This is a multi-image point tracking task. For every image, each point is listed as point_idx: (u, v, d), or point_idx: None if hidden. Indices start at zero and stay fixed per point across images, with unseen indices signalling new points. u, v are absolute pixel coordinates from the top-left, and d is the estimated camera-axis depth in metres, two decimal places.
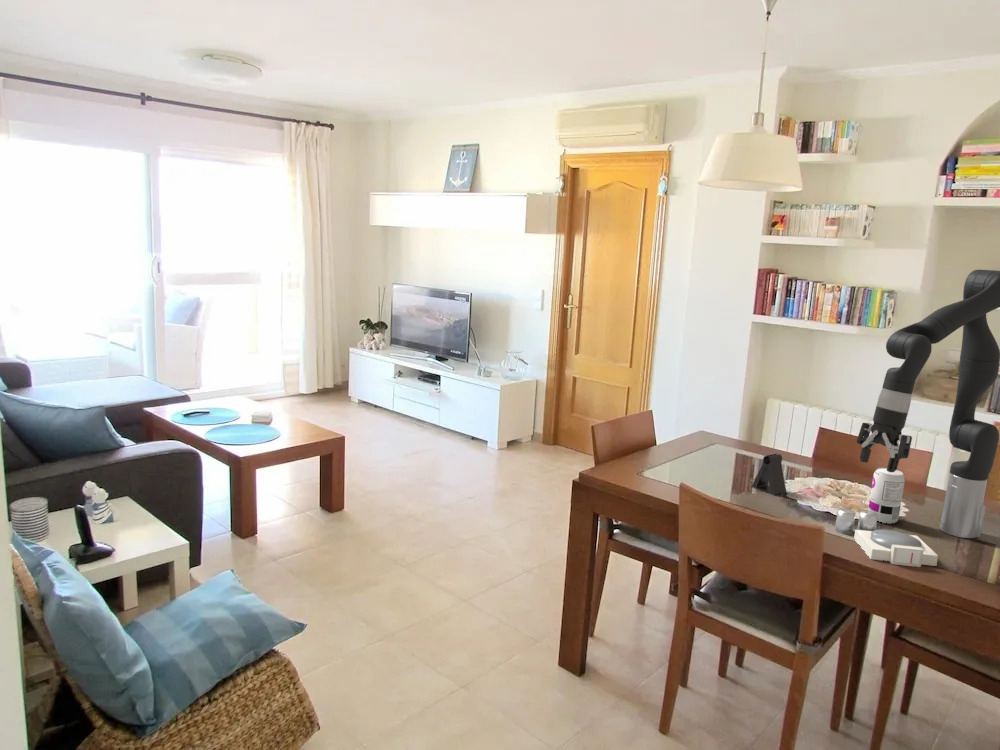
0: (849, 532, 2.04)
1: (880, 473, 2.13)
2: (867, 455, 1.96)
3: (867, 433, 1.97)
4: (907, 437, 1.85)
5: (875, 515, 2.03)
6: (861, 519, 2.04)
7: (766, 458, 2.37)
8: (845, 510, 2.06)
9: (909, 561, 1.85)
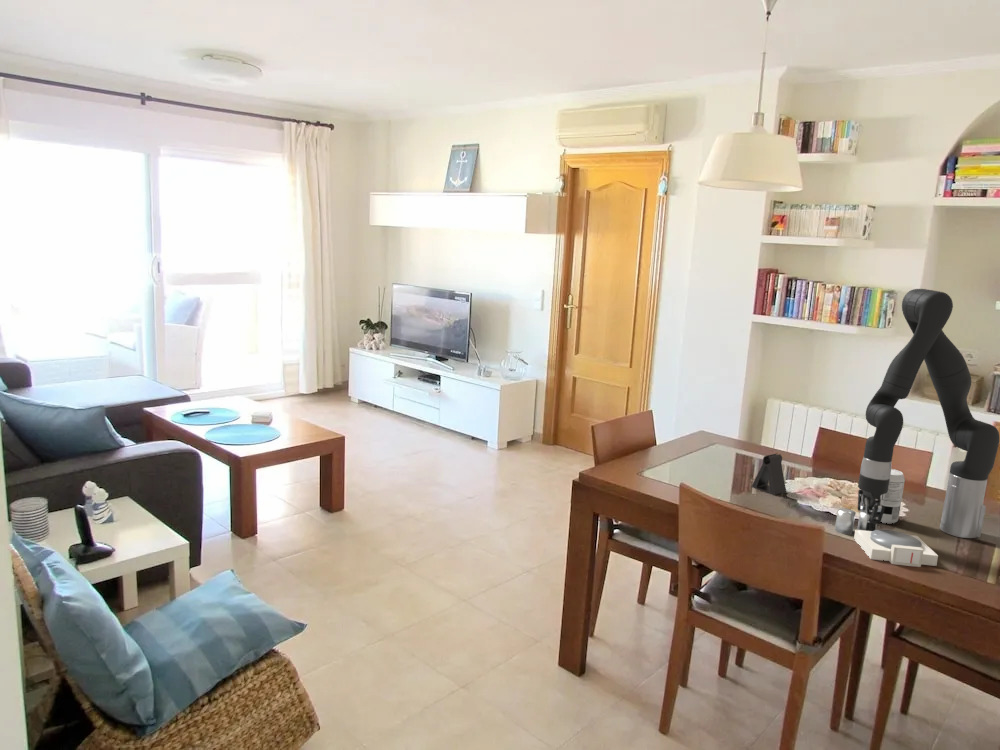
0: (849, 532, 2.04)
1: None
2: None
3: None
4: (878, 507, 1.97)
5: None
6: (861, 519, 2.04)
7: (766, 458, 2.37)
8: (845, 510, 2.06)
9: (909, 561, 1.85)
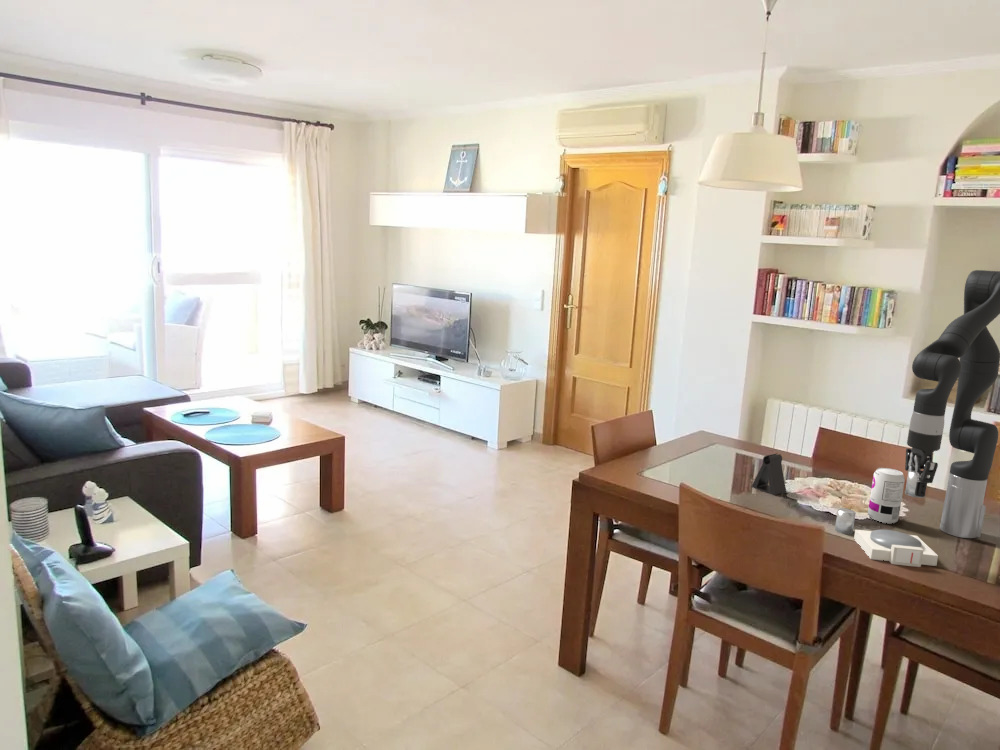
0: (849, 532, 2.04)
1: (880, 473, 2.13)
2: None
3: None
4: (930, 465, 1.82)
5: None
6: (910, 479, 1.89)
7: (766, 458, 2.37)
8: (845, 510, 2.06)
9: (909, 561, 1.85)
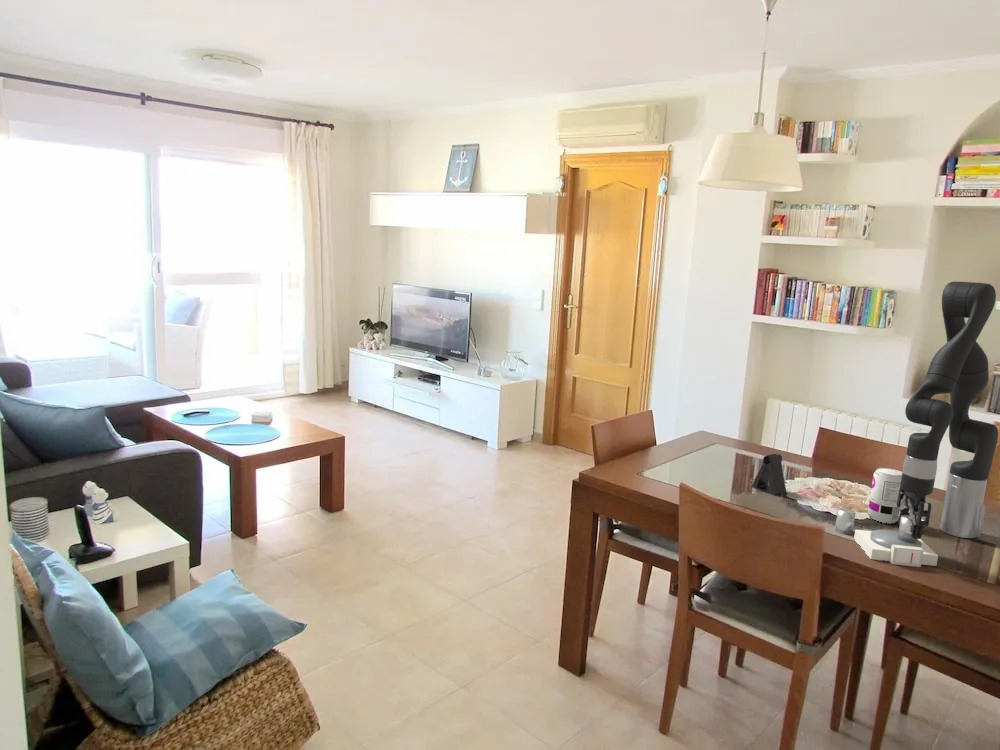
0: (849, 532, 2.04)
1: (880, 473, 2.13)
2: None
3: None
4: (924, 505, 1.84)
5: None
6: (902, 525, 1.91)
7: (766, 458, 2.37)
8: (845, 510, 2.06)
9: (909, 561, 1.85)
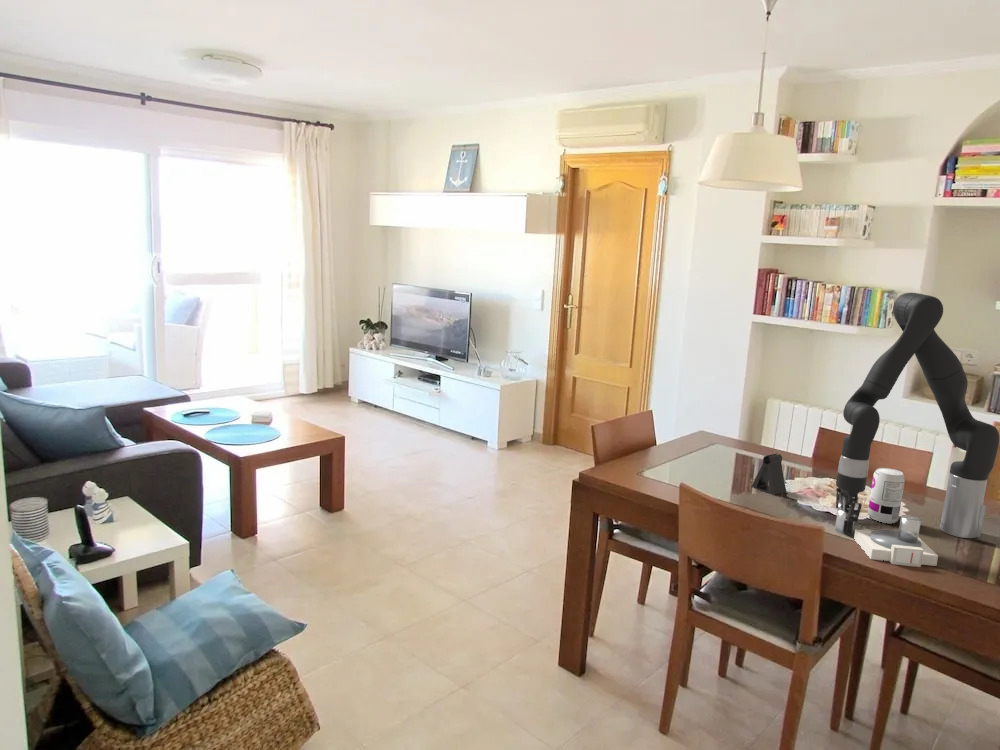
0: None
1: (880, 473, 2.13)
2: None
3: None
4: (855, 505, 1.98)
5: (918, 520, 1.90)
6: (902, 525, 1.91)
7: (766, 458, 2.37)
8: None
9: (909, 561, 1.85)
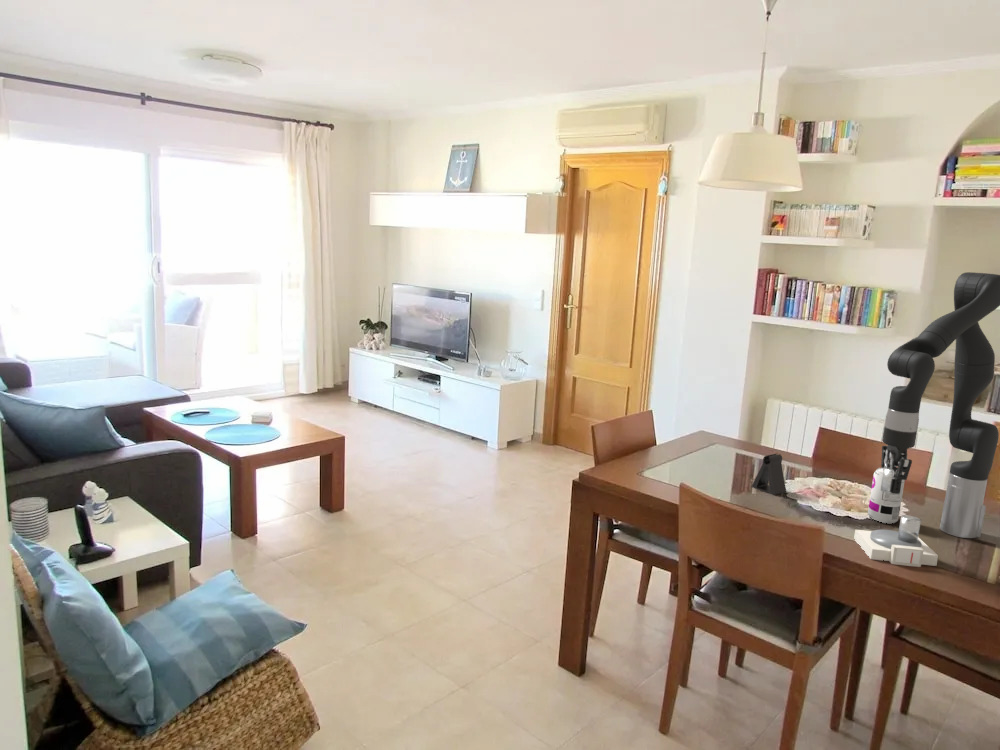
0: None
1: (880, 473, 2.13)
2: None
3: None
4: (904, 462, 1.83)
5: (918, 520, 1.90)
6: (902, 525, 1.91)
7: (766, 458, 2.37)
8: None
9: (909, 561, 1.85)
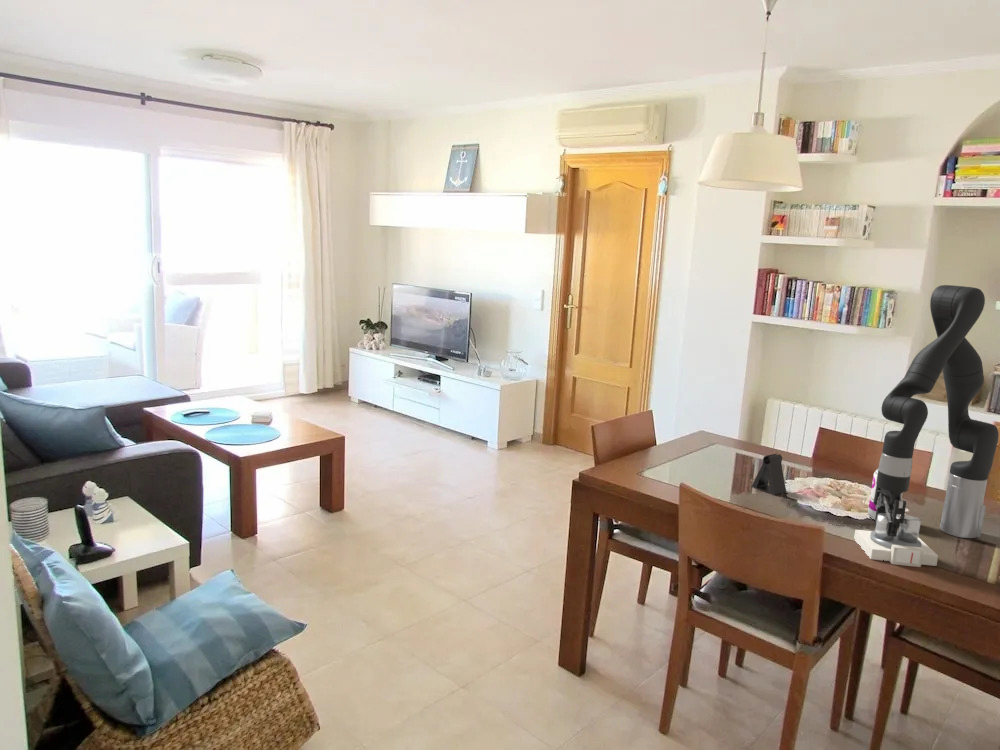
0: (890, 539, 1.91)
1: None
2: None
3: None
4: (899, 502, 1.85)
5: (918, 520, 1.90)
6: (903, 525, 1.91)
7: (766, 458, 2.37)
8: (885, 515, 1.93)
9: (909, 561, 1.85)
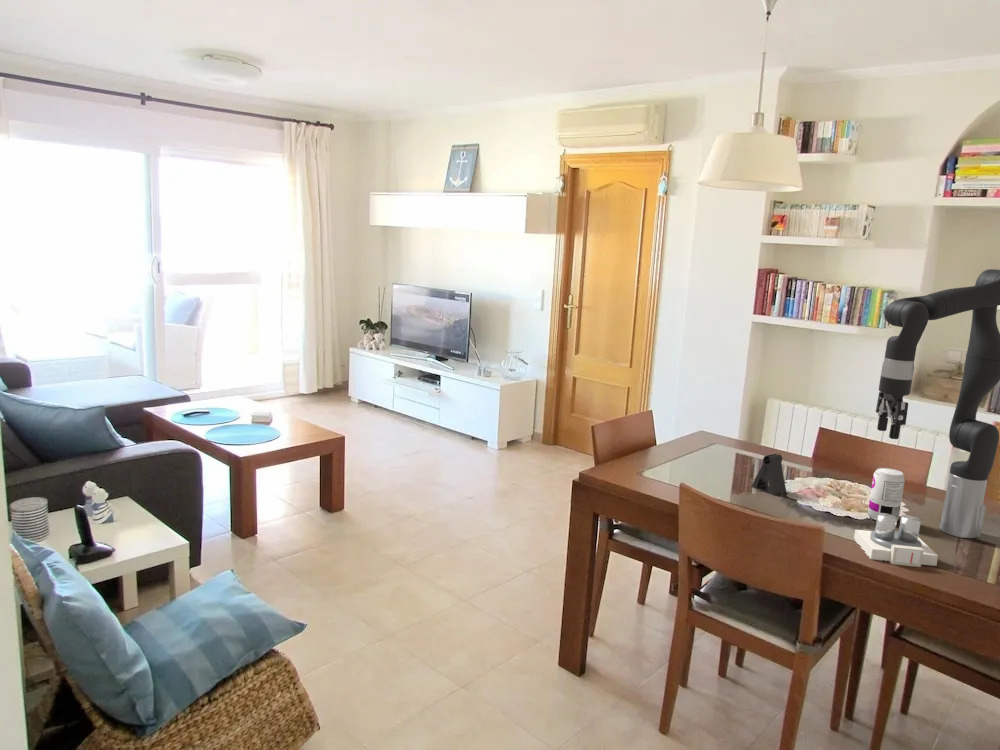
0: (890, 539, 1.91)
1: (880, 473, 2.13)
2: (883, 424, 2.00)
3: None
4: (901, 404, 1.88)
5: (918, 520, 1.90)
6: (902, 525, 1.91)
7: (766, 458, 2.37)
8: (885, 515, 1.93)
9: (909, 561, 1.85)
